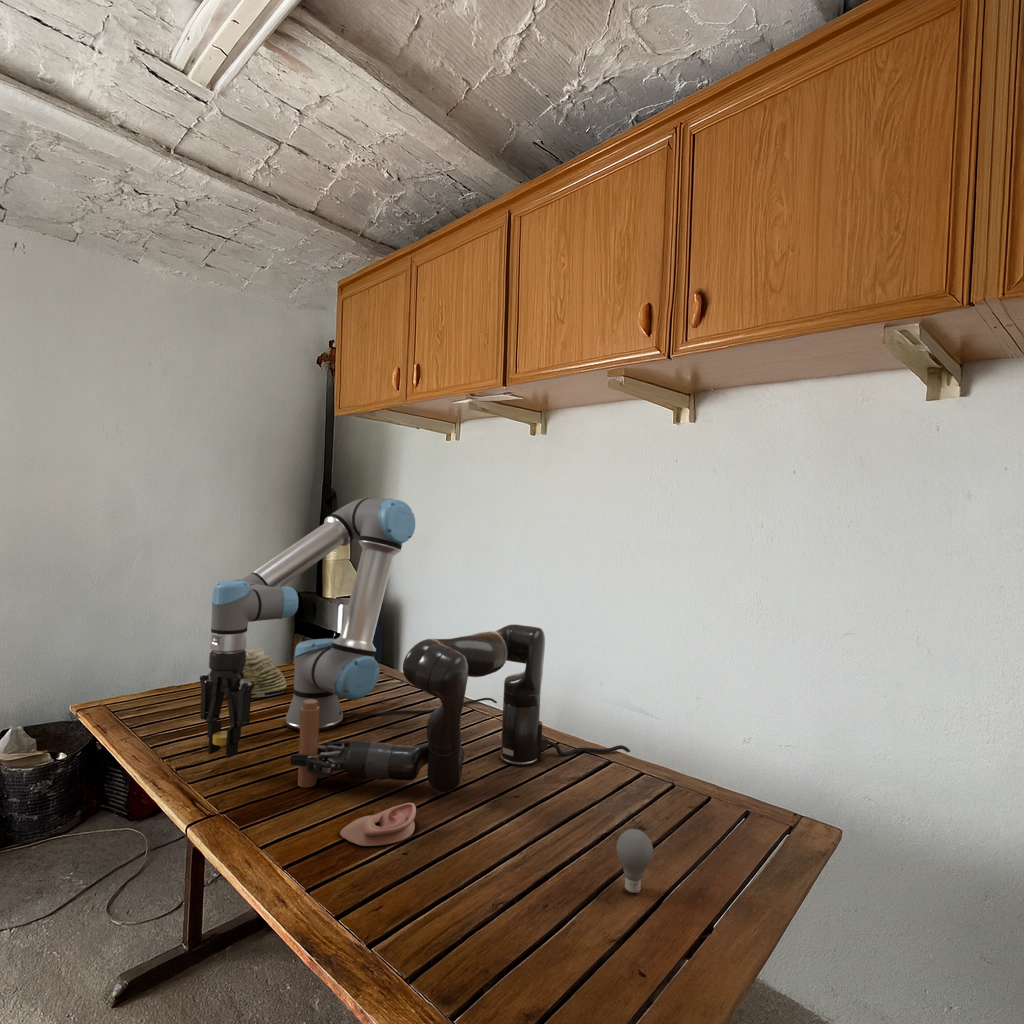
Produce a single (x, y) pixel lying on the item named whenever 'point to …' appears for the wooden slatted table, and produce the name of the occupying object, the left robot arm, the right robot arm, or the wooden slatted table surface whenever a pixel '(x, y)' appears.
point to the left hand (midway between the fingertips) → (222, 753)
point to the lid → (220, 738)
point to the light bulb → (634, 857)
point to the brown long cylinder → (308, 739)
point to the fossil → (263, 674)
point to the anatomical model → (382, 826)
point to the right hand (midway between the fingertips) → (296, 755)
